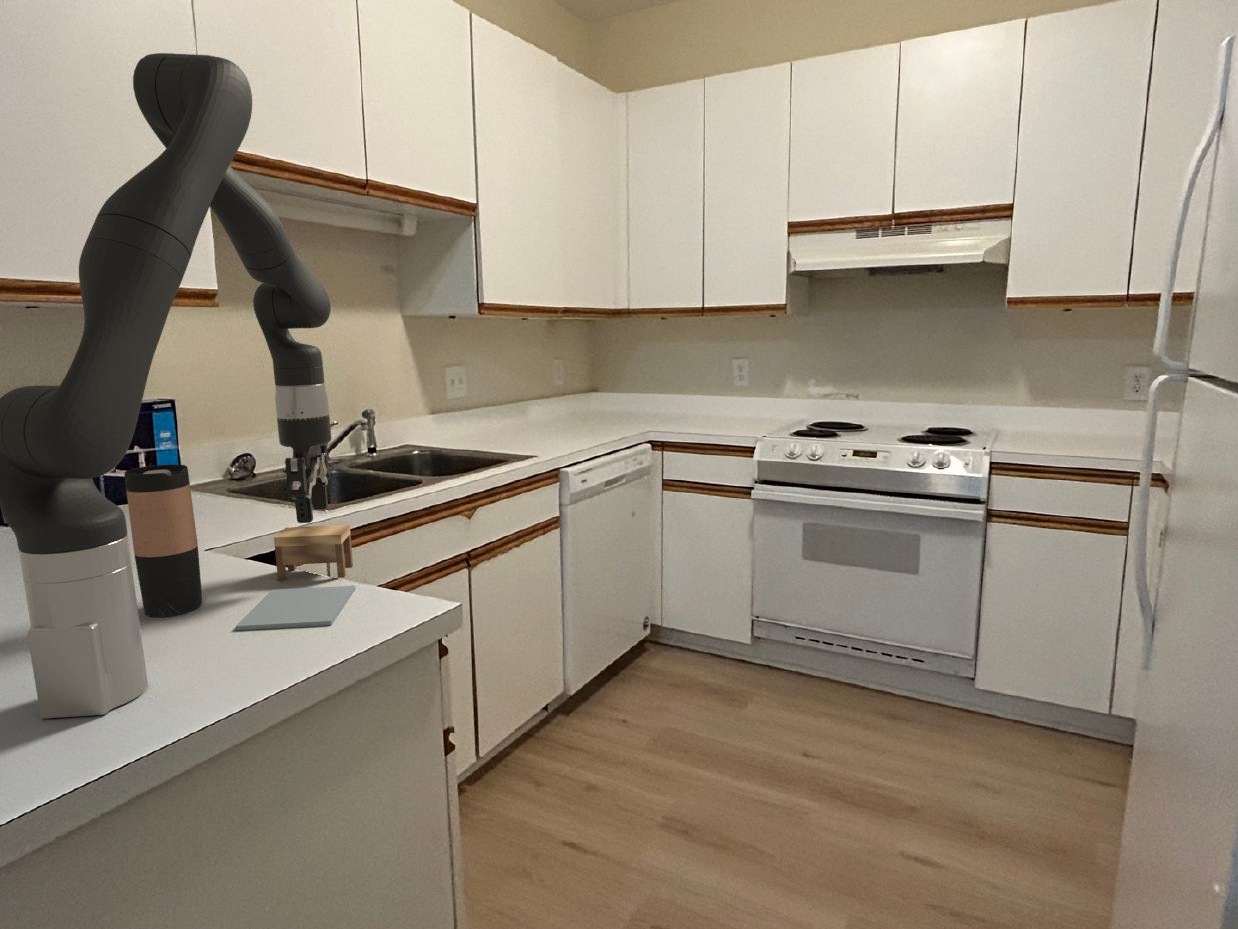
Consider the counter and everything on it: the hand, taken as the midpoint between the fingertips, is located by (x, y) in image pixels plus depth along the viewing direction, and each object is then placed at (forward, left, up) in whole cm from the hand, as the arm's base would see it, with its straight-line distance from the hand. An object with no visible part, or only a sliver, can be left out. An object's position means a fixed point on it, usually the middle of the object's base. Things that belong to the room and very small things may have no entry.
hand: (313, 515), depth 120 cm
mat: (-16, -2, -10) cm, 19 cm away
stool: (0, 0, -10) cm, 10 cm away
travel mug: (-13, +16, -10) cm, 23 cm away
